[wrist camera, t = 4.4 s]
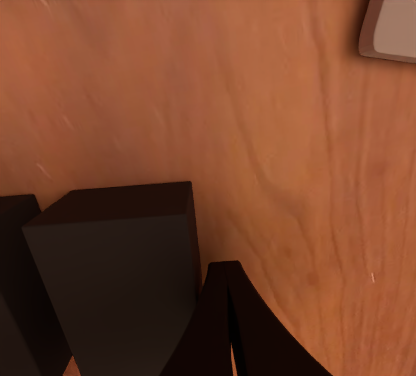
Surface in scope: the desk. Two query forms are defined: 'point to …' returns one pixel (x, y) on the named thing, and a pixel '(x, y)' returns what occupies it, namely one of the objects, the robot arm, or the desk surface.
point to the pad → (120, 273)
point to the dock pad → (26, 301)
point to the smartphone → (389, 30)
